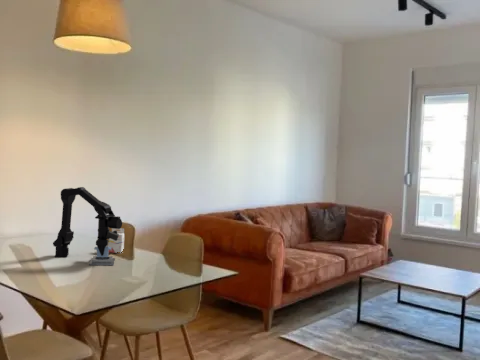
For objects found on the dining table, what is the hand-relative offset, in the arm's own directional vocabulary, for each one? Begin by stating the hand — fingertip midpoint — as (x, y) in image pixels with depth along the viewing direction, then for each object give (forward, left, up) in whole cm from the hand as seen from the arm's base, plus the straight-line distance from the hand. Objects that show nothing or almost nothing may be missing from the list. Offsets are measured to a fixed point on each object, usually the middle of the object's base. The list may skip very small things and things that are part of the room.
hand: (102, 254), depth 282 cm
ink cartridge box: (+6, +26, -5) cm, 27 cm away
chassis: (0, 0, -4) cm, 5 cm away
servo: (0, 0, -1) cm, 1 cm away
